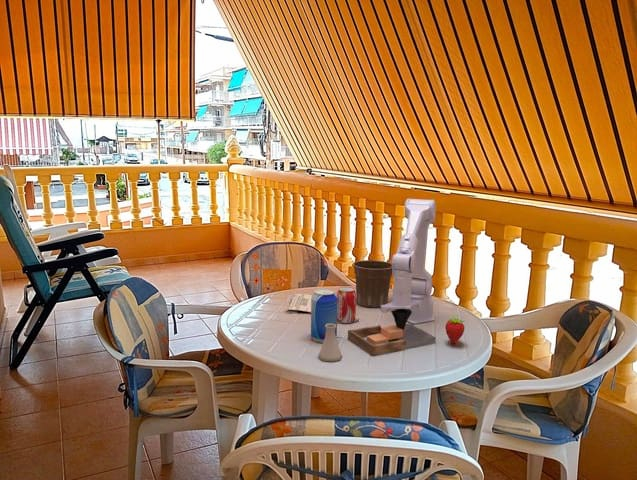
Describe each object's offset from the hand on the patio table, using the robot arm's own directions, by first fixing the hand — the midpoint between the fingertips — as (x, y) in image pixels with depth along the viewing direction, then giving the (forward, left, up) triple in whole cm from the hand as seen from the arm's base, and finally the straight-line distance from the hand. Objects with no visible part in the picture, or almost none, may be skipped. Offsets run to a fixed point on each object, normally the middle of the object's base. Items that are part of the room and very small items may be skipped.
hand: (400, 330), depth 166 cm
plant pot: (-13, -37, -3) cm, 39 cm away
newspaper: (+14, -47, -4) cm, 49 cm away
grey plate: (-3, 0, -3) cm, 4 cm away
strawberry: (-14, +10, -3) cm, 17 cm away
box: (+9, 0, -3) cm, 9 cm away
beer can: (+22, -11, -3) cm, 25 cm away
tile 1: (+8, 0, -3) cm, 9 cm away
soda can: (+7, -23, -3) cm, 24 cm away
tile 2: (+3, 0, -1) cm, 4 cm away
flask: (+27, +3, -3) cm, 27 cm away
